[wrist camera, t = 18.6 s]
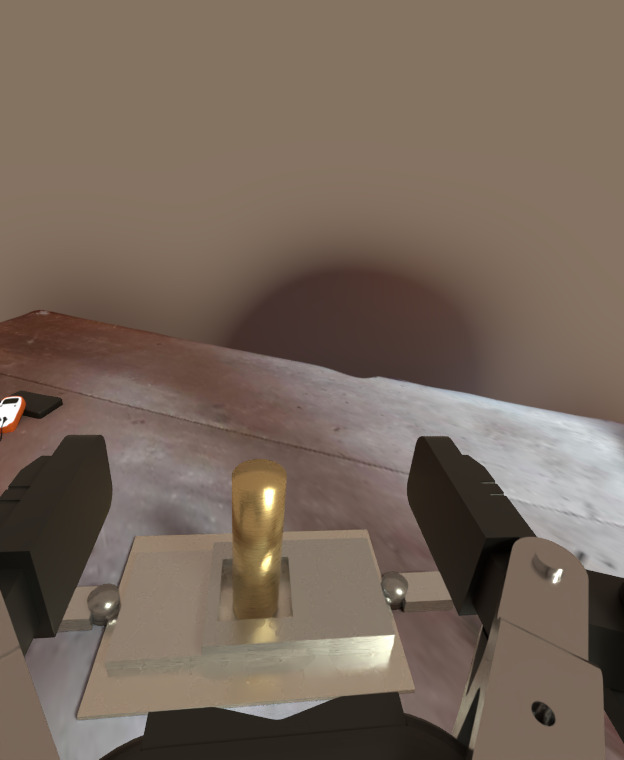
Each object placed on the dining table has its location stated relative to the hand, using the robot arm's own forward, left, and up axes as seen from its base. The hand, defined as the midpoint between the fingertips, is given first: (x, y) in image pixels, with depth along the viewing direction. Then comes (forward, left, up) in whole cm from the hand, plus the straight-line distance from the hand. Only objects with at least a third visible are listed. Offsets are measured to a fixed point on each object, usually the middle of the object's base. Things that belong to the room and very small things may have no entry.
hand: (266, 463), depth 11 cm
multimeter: (-51, +21, -29) cm, 62 cm away
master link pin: (-8, +14, -28) cm, 32 cm away
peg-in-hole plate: (-8, +14, -28) cm, 33 cm away
